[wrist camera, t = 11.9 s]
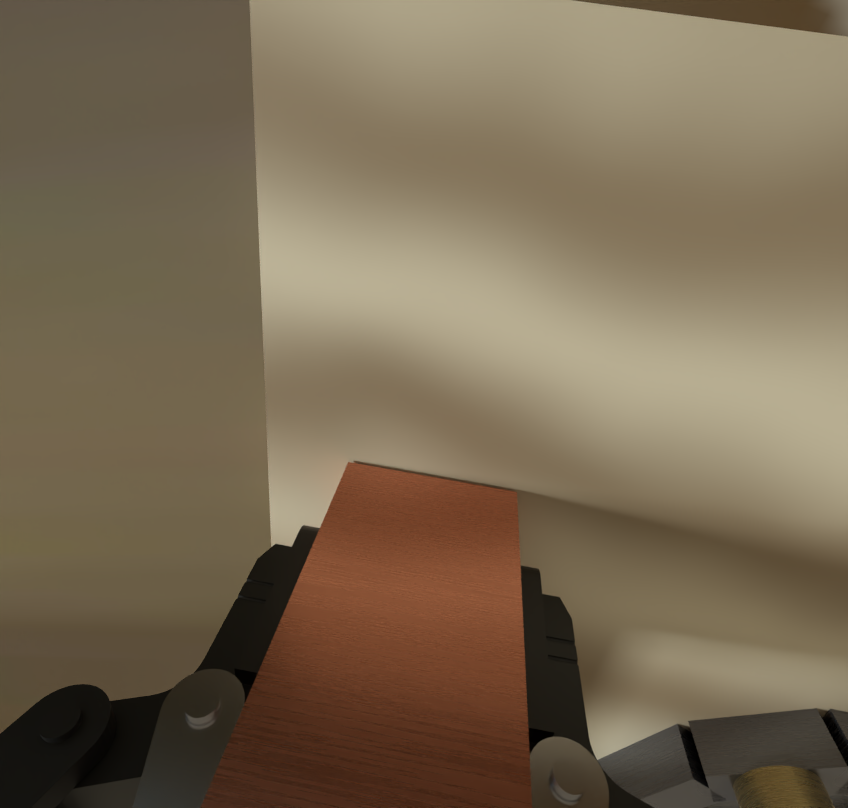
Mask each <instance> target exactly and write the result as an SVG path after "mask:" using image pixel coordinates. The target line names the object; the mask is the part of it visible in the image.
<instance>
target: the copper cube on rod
mask: <svg viewBox="0 0 848 808" xmlns="http://www.w3.org/2000/svg"><path fill="white" fill-rule="evenodd" d="M200 808H532V794H531V773H530V752H529V731H528V711H527V690H526V669H525V649H524V628H523V607H522V586H521V566H520V545H519V524H518V503H517V492H515V491H509V490H503V489H498V488H492V487H487V486H481V485H475V484H470V483H464V482H458V481H453V480H447V479H441V478H436V477H430V476H424V475H419V474H413V473H408V472H402V471H396V470H391V469H385V468H379V467H374V466H368V465H362V464H357V463H351V462H348V464H347V466H346V468H345V471H344V473H343V475H342V478H341V480H340V482H339V485H338V487H337V489H336V492H335V494H334V496H333V499H332V501H331V503H330V506H329V508H328V510H327V513H326V515H325V517H324V520H323V522H322V524H321V527H320V529H319V531H318V534H317V536H316V538H315V541H314V543H313V545H312V548H311V550H310V552H309V555H308V557H307V559H306V562H305V564H304V566H303V569H302V571H301V573H300V576H299V578H298V580H297V583H296V585H295V587H294V590H293V592H292V594H291V597H290V599H289V602H288V604H287V606H286V609H285V611H284V613H283V616H282V618H281V620H280V623H279V625H278V627H277V630H276V632H275V634H274V637H273V639H272V641H271V644H270V646H269V648H268V651H267V653H266V655H265V658H264V660H263V662H262V665H261V667H260V669H259V672H258V674H257V676H256V679H255V681H254V683H253V686H252V688H251V690H250V693H249V695H248V697H247V700H246V702H245V704H244V707H243V709H242V711H241V714H240V716H239V718H238V721H237V723H236V725H235V728H234V730H233V732H232V735H231V737H230V739H229V742H228V744H227V747H226V749H225V751H224V754H223V756H222V758H221V761H220V763H219V765H218V768H217V770H216V772H215V775H214V777H213V779H212V782H211V784H210V786H209V789H208V791H207V793H206V796H205V798H204V800H203V803H202V805H201V807H200Z"/></svg>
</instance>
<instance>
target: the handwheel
mask: <svg viewBox="0 0 848 808" xmlns="http://www.w3.org/2000/svg"><path fill="white" fill-rule="evenodd" d="M688 722H689V725H690V728H691V732H692V733H691V732H690V731H688V730H686V729H685V728H683V727H682V726H680V725H679V724H675V725H673V726H671V727H669V728H667V729H664V730H662V731H660V732H658V733H656V734H653V735H651V736H649V737H647V738H645V739H642V740H640V741H638V742H636V743H634V744H631V745H629V746H627V747H625V748H623V749H620V750H618V751H616V752H614V753H612V754H609V755H607V756H605V757H603V758H601V759H598V760H597V761H598V762H599V764H600V765H601V767H602V769H603V770H604V771H605V772H606V774H607V775H608V776H609V777H610V778H611V779H612V780H613V781H614V782H615V783H616V784H617V785H618V786H620V787H621V788H622V789H623V790H625V791H627V792H628V793H630V794H631V795H633V796H635V797H636V798H638V799H640V800H642V801H643V802H645V803H647V804H649V805H650V806H652V807H654V808H848V712H845V711H840V710H835V709H829V710H828V711H827V713H826V714H825V715H824V716H823V717H821V716H820V714H819V712H818V710H817V708H813V709H803V710H793V711H783V712H773V713H763V714H753V715H742V716H732V717H722V718H712V719H702V720H692V721H688Z"/></svg>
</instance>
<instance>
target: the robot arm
mask: <svg viewBox="0 0 848 808" xmlns="http://www.w3.org/2000/svg"><path fill="white" fill-rule="evenodd" d="M319 529H320V528H317V527H312V526H306V525H303V526H302V527H301V528H300V530H299V532H298V534H297V537H296V539H295V541H294V543H293V545H292V547H291V546H285V545H280V544H275V545H273V546H272V547H271V548H270V549H269V550H268V551H266V552H265V553H264V554H263V555H262V556H261V557H259V558H258V559H257V561H256V563H255V565H254V567H253V569H252V571H251V572H250V574H249V576H248V578H247V582H246V583H245V584H244V585H243V587H242V589H241V591H240V593H239V595H238V599H236V600H235V602H234V604H233V606H232V608H231V610H230V612H229V613H228V615H227V617H226V619H225V621H224V623H223V625H222V627H221V628H220V630H219V632H218V634H217V636H216V638H215V640H214V642H213V643H212V645H211V647H210V649H209V651H208V653H207V655H206V656H205V658H204V660H203V662H202V663H201V665H200V666H199V667H198V669H197V670H196V671H195V672H194V673H193V674H191V675H189V676H187V677H186V678H184V679H183V680H181V681H180V682H179V683H178V684H177V685H176V686H175V687H174V688H172V689H170V690H168V691H166V692H163V693H160V694H155V695H151V696H144V697H137V698H129V699H122V700H115V701H109V698H108V696H107V695H106V693H105V692H104V691H103V690H101V689H100V688H98V687H96V686H92V685H86V684H80V685H72V686H68V687H65V688H62V689H59V690H57V691H55V692H53V693H51V694H49V695H47V696H46V697H44V698H43V699H41V700H40V701H39V702H37V703H36V704H35V705H34V706H32V707H31V708H30V709H29V710H28V711H27V712H25V713H24V714H23V715H22V716H21V717H20V718H18V719H17V720H16V721H15V722H14V723H12V724H11V725H10V726H9V727H8V728H7V729H5V730H4V731H3V732H2V733H1V734H0V808H200V807H201V805H202V803H203V800H204V798H205V796H206V793H207V791H208V789H209V786H210V784H211V782H212V779H213V777H214V775H215V772H216V770H217V768H218V765H219V763H220V761H221V758H222V756H223V754H224V751H225V749H226V747H227V744H228V742H229V739H230V737H231V735H232V732H233V730H234V728H235V725H236V723H237V721H238V718H239V716H240V714H241V711H242V709H243V707H244V704H245V702H246V700H247V697H248V695H249V693H250V690H251V688H252V686H253V683H254V681H255V679H256V676H257V674H258V672H259V669H260V667H261V665H262V662H263V660H264V658H265V655H266V653H267V651H268V648H269V646H270V644H271V641H272V639H273V637H274V634H275V632H276V630H277V627H278V625H279V623H280V620H281V618H282V616H283V613H284V611H285V609H286V606H287V604H288V602H289V599H290V597H291V594H292V592H293V590H294V587H295V585H296V583H297V580H298V578H299V576H300V573H301V571H302V569H303V566H304V564H305V562H306V559H307V557H308V555H309V552H310V550H311V548H312V545H313V543H314V541H315V538H316V536H317V534H318V531H319ZM520 566H521V565H520ZM521 586H522V607H523V628H524V649H525V669H526V690H527V711H528V731H529V752H530V773H531V794H532V808H654V807H652V806H650V805H649V804H647V803H645V802H643V801H642V800H640V799H638V798H636V797H635V796H633V795H631V794H630V793H628V792H627V791H625V790H623V789H622V788H621V787H620V786H618V785H617V784H616V783H615V782H614V781H613V780H612V779H611V778H610V777H609V776H608V775H607V774H606V772H605V771H604V770H603V769H602V767H601V765H600V764H599V762H598V761H597V759H596V757H595V755H594V753H593V750H592V747H591V744H590V740H589V734H588V727H587V720H586V714H585V707H584V700H583V693H582V686H581V679H580V672H579V665H577V662H578V658H577V651H576V646H575V637H574V630H573V623H572V618H571V616H570V614H569V613H568V611H567V609H566V607H565V606H564V604H563V602H562V600H561V598H560V597H557V596H551V595H546V594H542V586H541V575H540V571H539V569H538V568H532V567H527V566H521Z"/></svg>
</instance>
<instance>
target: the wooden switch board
mask: <svg viewBox="0 0 848 808" xmlns="http://www.w3.org/2000/svg"><path fill="white" fill-rule="evenodd" d="M250 24H251V49H252V74H253V99H254V124H255V149H256V174H257V199H258V224H259V249H260V274H261V299H262V324H263V349H264V374H265V399H266V424H267V449H268V474H269V499H270V524H271V547H272V546H273V545H275V544H280V545H285V546H291V547H292V545H293V543H294V541H295V539H296V537H297V534H298V532H299V530H300V528H301V527H302V526H303V525H306V526H312V527H317V528H320V527H321V524H322V522H323V520H324V517H325V515H326V513H327V510H328V508H329V506H330V503H331V501H332V499H333V496H334V494H335V492H336V489H337V487H338V485H339V482H340V480H341V478H342V475H343V473H344V471H345V468H346V466H347V464H348V462H351V463H357V464H362V465H368V466H374V467H379V468H385V469H391V470H396V471H402V472H408V473H413V474H419V475H424V476H430V477H436V478H441V479H447V480H453V481H458V482H464V483H470V484H475V485H481V486H487V487H492V488H498V489H503V490H509V491H515V492H517V503H518V524H519V545H520V565H521V566H527V567H532V568H538V569H539V571H540V575H541V586H542V594H546V595H551V596H557V597H560V598H561V600H562V602H563V604H564V606H565V607H566V609H567V611H568V613H569V614H570V616H571V618H572V623H573V630H574V637H575V646H576V651H577V658H578V662H577V665H579V672H580V679H581V686H582V693H583V700H584V707H585V714H586V720H587V727H588V734H589V740H590V744H591V747H592V750H593V753H594V755H595V757H596V759H597V760H598V759H601V758H603V757H605V756H607V755H609V754H612V753H614V752H616V751H618V750H620V749H623V748H625V747H627V746H629V745H631V744H634V743H636V742H638V741H640V740H642V739H645V738H647V737H649V736H651V735H653V734H656V733H658V732H660V731H662V730H664V729H667V728H669V727H671V726H673V725H675V724H679V725H680V726H682V727H683V728H685V729H686V730H688V731H690V732H691V728H690V725H689V722H688V721H692V720H702V719H712V718H722V717H732V716H742V715H753V714H763V713H773V712H783V711H793V710H803V709H813V708H817V710H818V712H819V714H820V716H821V717H823V716H824V715H825V714H826V713H827V711H828V710H829V709H835V710H840V711H845V712H848V37H847V36H839V35H831V34H824V33H816V32H809V31H801V30H793V29H786V28H778V27H771V26H763V25H755V24H748V23H740V22H733V21H725V20H717V19H710V18H702V17H695V16H687V15H679V14H672V13H664V12H656V11H649V10H641V9H634V8H626V7H618V6H611V5H603V4H596V3H588V2H580V1H573V0H250ZM691 733H692V732H691Z"/></svg>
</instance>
